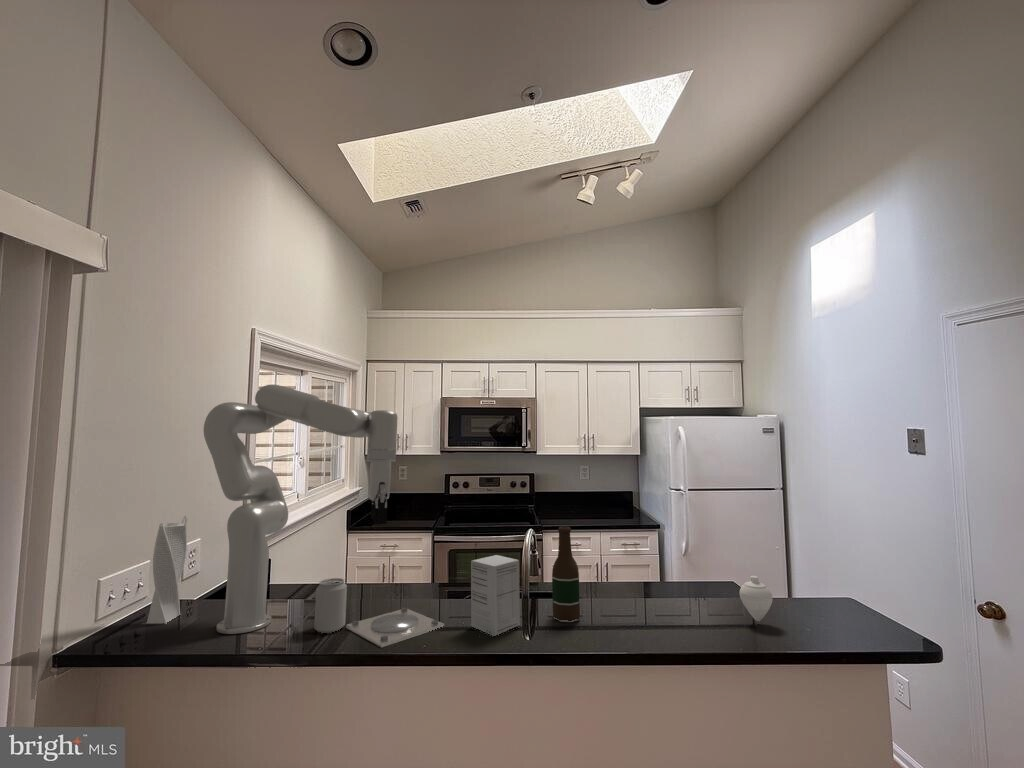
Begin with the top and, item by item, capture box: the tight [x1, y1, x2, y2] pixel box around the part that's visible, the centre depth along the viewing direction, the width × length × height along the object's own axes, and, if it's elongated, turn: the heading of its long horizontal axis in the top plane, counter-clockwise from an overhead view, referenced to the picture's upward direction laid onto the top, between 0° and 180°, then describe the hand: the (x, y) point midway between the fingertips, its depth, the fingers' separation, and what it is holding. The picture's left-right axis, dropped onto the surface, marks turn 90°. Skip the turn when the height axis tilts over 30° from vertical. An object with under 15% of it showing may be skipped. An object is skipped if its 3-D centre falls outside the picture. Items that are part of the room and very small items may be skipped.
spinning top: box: [739, 575, 774, 622], centre depth 121 cm, size 8×8×12 cm
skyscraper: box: [141, 515, 188, 625], centre depth 130 cm, size 8×8×28 cm
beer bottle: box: [551, 525, 581, 621], centre depth 128 cm, size 8×8×24 cm
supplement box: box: [470, 554, 521, 637], centre depth 122 cm, size 10×9×17 cm
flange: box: [345, 607, 445, 648], centre depth 121 cm, size 18×18×2 cm
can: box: [313, 577, 348, 634], centre depth 121 cm, size 8×8×12 cm
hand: (378, 521), depth 124 cm, fingers open, 9 cm apart
